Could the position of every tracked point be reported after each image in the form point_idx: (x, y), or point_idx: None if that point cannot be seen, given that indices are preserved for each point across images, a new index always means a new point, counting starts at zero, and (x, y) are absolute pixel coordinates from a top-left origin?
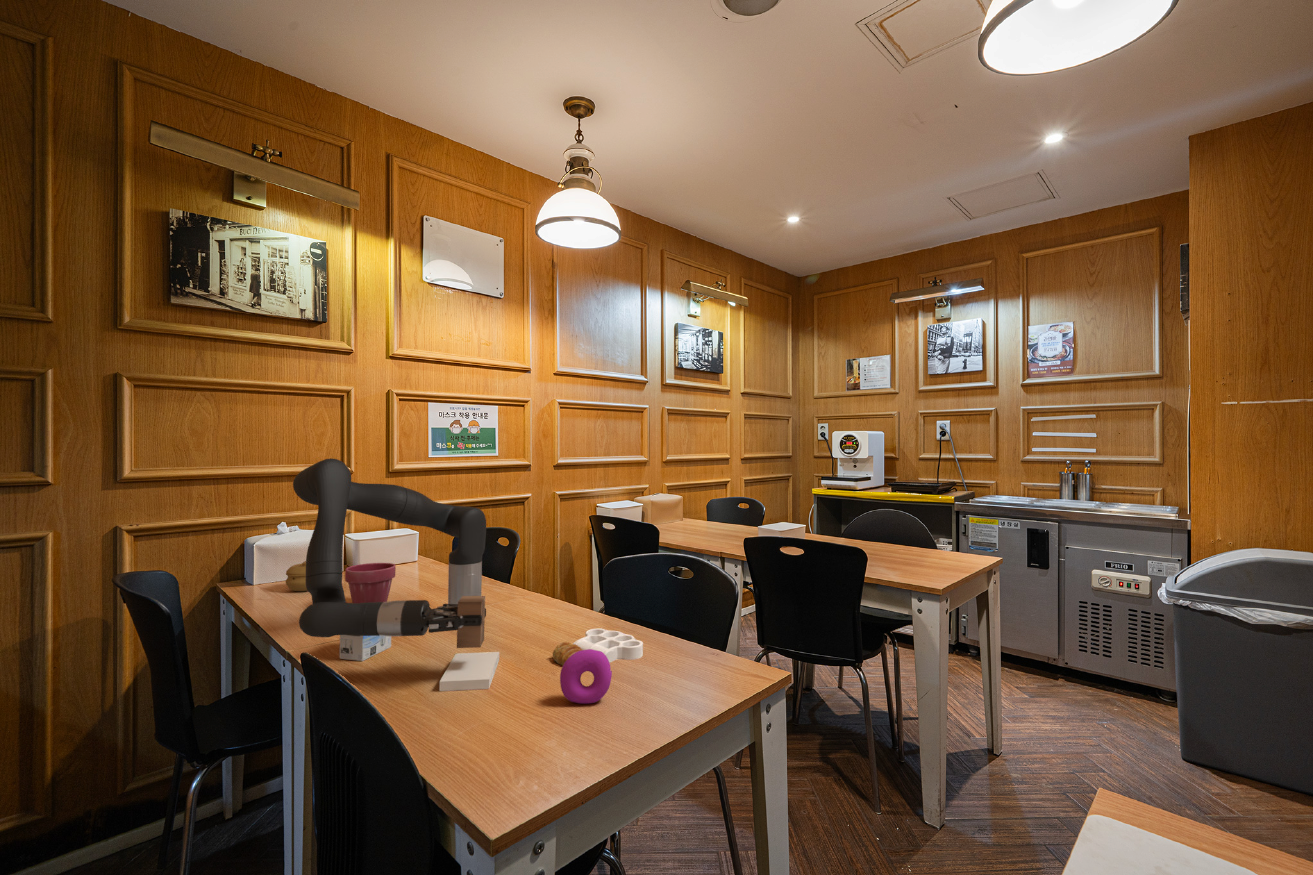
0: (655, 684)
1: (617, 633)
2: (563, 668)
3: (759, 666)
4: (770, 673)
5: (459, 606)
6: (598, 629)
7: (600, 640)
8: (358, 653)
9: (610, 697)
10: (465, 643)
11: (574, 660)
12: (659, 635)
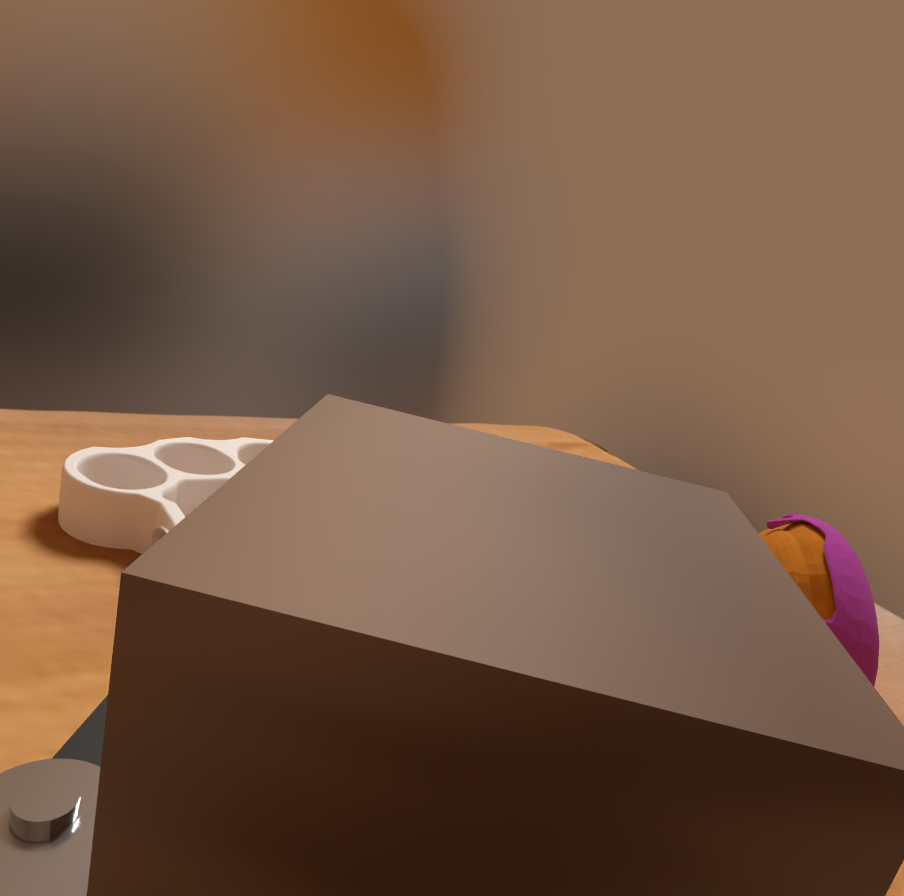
0: None
1: (186, 447)
2: (869, 654)
3: (507, 425)
4: (549, 433)
5: (850, 864)
6: (90, 456)
7: (194, 498)
8: None
9: None
10: None
11: (870, 593)
12: (183, 417)
